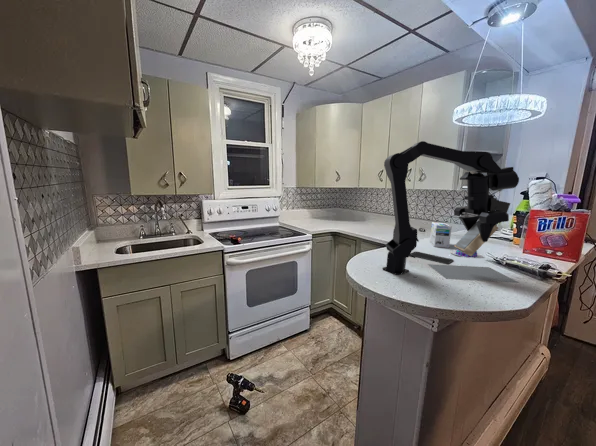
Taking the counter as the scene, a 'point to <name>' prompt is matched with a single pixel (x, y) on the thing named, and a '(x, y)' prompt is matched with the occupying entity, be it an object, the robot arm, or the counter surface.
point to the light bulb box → (440, 234)
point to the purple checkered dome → (466, 254)
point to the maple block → (472, 240)
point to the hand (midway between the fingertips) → (478, 239)
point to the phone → (431, 257)
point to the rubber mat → (470, 273)
